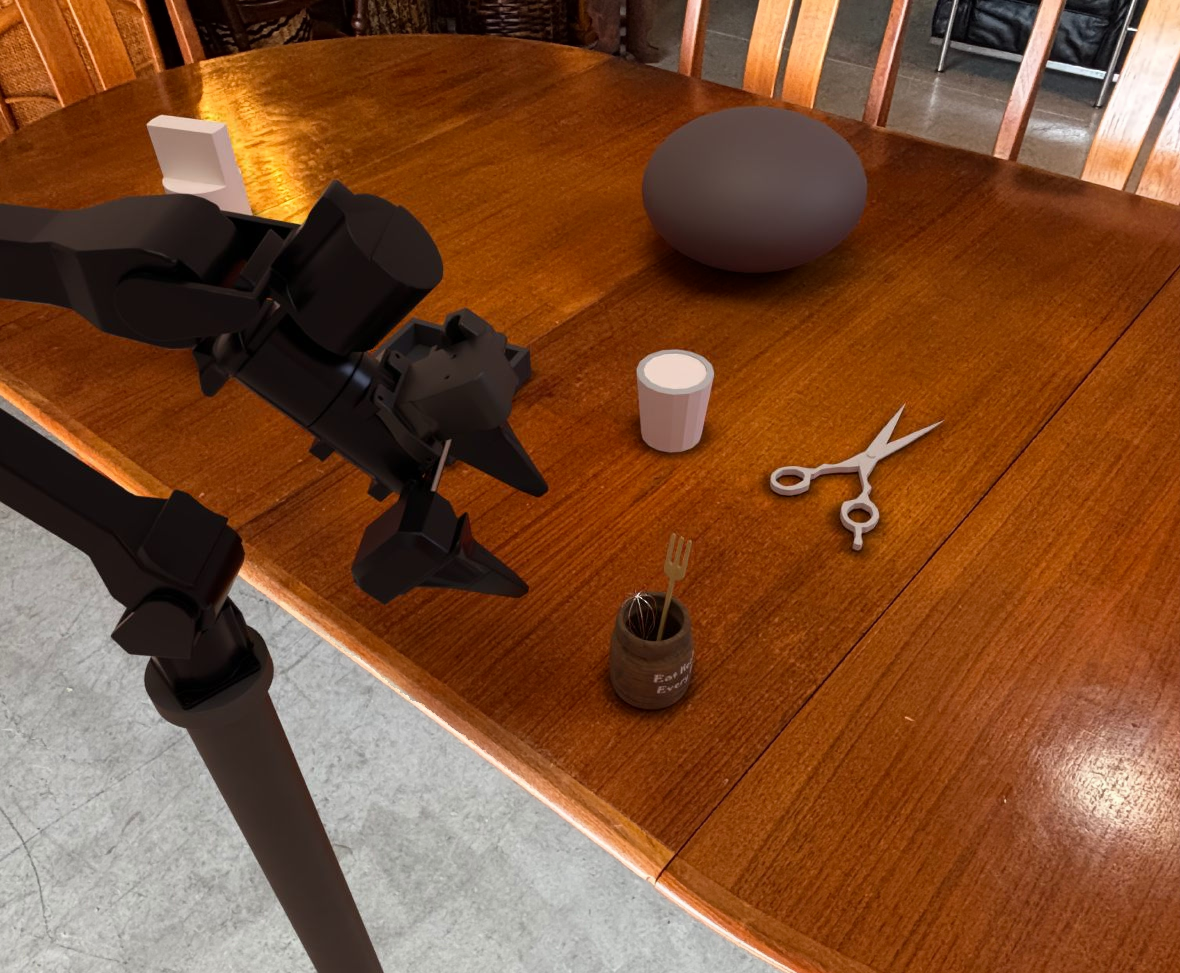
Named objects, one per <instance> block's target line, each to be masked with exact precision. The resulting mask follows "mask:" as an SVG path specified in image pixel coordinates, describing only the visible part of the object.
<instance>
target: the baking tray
mask: <svg viewBox="0 0 1180 973" xmlns="http://www.w3.org/2000/svg"><path fill="white" fill-rule="evenodd" d="M442 326H443V324H439V323H436V322H433V321H432V322H431V321H428V320H423V319H422V318H421V319H420V318H416V317H412V316H411V317H410V319H409V320H408V321H407V322H406V323H405V324H403V325H402V327H401V326H400V328H399V329H398V330H397V331H396V332H394V333H393V334H392V335H391V336H390V337H389V338H388V339H387V340H386V341H384V342H383V343H382V344H381V345H380V346H379V347H378V348H377V349H376V350H375V351H374V352H372V353H371V355H372V356H374V357H375V358H376V357H377V356H378V355H379V354H380V353H381V352H382V351H383V350H384V349H385V348H386V347H387V348H388V349H389V350H391V351H393V350H396V351H398V352H400V353H401V354H402V355H403V356H405V357H406V358H407V359H409V360H411V361H412V362H414V363H415V362H417V361H419V360H422V359H424V358H426V357H428V356H429V354H430V351H431V348H432V347H434V346H436V345H438V347H439V348H440V350H441V349H442V346H441V336H440V332H441V329H442ZM504 355H505V356H506V358H507V360H508V361H509V363H510V365H511V366H512V368H513V370H514V371H515V373H516V375H517V376H518V378H519V384H518V387H515V390H514V394H513V396H514V395H515V394H516V393H517V392H518V391H519V389H520V388H521V387H522V386H524V384H525V383H526V381H528V379H529V378H530V377H531V376H532V363H531V349H530V348H528V347H523V346H519V345H515V344H512V343H509V342H507V346H506V349H505V353H504ZM456 460H457V459H456V458H454V457H452V456H450V455H448V457H447V460H446V463H445V466H446V465H447V466H451V465H452V464H453V463H454V462H456Z"/></svg>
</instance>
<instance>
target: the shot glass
mask: <svg viewBox="0 0 1180 973" xmlns="http://www.w3.org/2000/svg"><path fill="white" fill-rule="evenodd" d="M714 376H715V371H714V367H713V365H712V363H710V361H708V360H707V359H706V358H705V357H704V356H703V355H700V354H697V353H695V352H693V351H689V350H683V349H676V348H675V349H663V350H659V351H655V352H653V353H649V354H648V355H647V356H645V357H644V358H643V359H642V360H640V361H639V363H638V365H637V367H636V381H637V396H638V407H639V408H638V410H639V421H640V432H641V438H642V440H643V441H644V442H645V444H646V445H648V446H649V447H651V448H652V449H655V450H657V451H658V452H665V453H682V452H685V451H687V450H690V449H693V448H694V447H695V446H696V445H698V444H699V442H700V441H701V439H702V438H701V437H702V434H703V430H704V426H705V425H704V424H705V420H706V415H707V411H708V406H709V401H710V396H711V392H712V387H713V382H714Z"/></svg>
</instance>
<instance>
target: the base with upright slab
mask: <svg viewBox="0 0 1180 973" xmlns="http://www.w3.org/2000/svg"><path fill="white" fill-rule="evenodd" d="M146 128H147V131H148V134H149V138H150V140H151V144H152V146H153V149H154V153H155V155H156V159H157V162H158V165H159V168H160V171H161V174H162V176H163V178H162V180H161V182H162V187H163V189H164V192H165V194H178V193H179V194H191V195H195V196H199V197H202V198H205V199H207V200H209V201H211V202H213V203H215V204H216V205H218V206H219V208H220V210H224V211H229V212H235V213H241V214H246V215H252V216H254V215H253V212H252V207H251V204H250V200H249V198H248V197H249V196H248V193H247V189H246V185H245V182H244V181H245V180H244V178H243V175H242V171H241V168H240V167H239V166H238V162H237V159H236V156H235V152H234V148H233V144H232V140H231V137H230V134H229V129H228V126H227V123H226V122H222V121H221V122H219V121H213V120H207V119H206V120H205V119H197V118H189V117H182V116H173V115H166V114H160V115H158V116H155V117H153V118H152V119H150V120H149V121H148V122H147V123H146Z"/></svg>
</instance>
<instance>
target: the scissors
mask: <svg viewBox="0 0 1180 973" xmlns="http://www.w3.org/2000/svg"><path fill="white" fill-rule="evenodd" d="M906 404H907V402H905V403H904V404H903V405H902V407H900V409H899V410H898V411H897V412H896V413H895V414H894V415H893V417H892V418H891V419H890V420H889V421H888V423H887V424H886V425H885V426H884V427H883V428H882V429H881V431H880V432H879V433H878V434H877V436H876V437H875V438H874V440H873V441H872V442H871V444H870V445H869V446H868V448H866V450H865V451H863V452H859V453H858V454H856V455H854V456H852V457H850V458H848V459H846V460H843V461H841V462H839V463H834V464H831V463H823V464H821V465H819V466H817V467H816V468H809V467H804V466H803V467H802V466H798V465H790V466H789V465H788V466H783V467H779V468H777V469H776V470H775V471H773V472H772V473H771V475H770V481H769V486H770V489H771V491H773V492H774V493H776V494H779V495H782V496H794V495H800V494H802V493H804V492H807V491H809V488H810V484H811V480H814V479H815V478H817V477H819V476H820V475H821V476H822V475H826V474H827V475H828V474H835V473H856V472H858V477H859V481H860V486H861V489H862V490H861V491H862V492H861V493H860V495H858V496H857V498H854V499H851V500H847V501H846V500H845V501H844V502H843V503H842V505H841V508H840V511H839V512H840V513H839V518H840V522H841V524H842V526H844V528H845V529H847V530H849V531H850V532H852V533H853V538H854V540H853V544H852V549H853V550H855V551H860V550H861V549H862V548H863V544H864V542H863V539H862V534H866V533H868V532H869V531H872V530H873V529H875V527H876V525H877V524H878V522H879V519H880V513H879V509H878V507H877V506H876V505H875V503H873V502H872V501H871V500H870V497H869V495H870V494H871V491H872V486H871V485H870V483H869V481H868V478H869V476H870V475H871V473H872V472H873V470H874V469H875V466H876V465H877V463H878V461H880V460H882V459H884V458H886V457H887V456H889V455H891V454H893V453H895V452H897V451H898V450H900V449H902V448H904V447H906V446H907V445H909V444H911V443H912V442H914V441H915V440H917V439H918V438H920V437H921V436H923V435H925V434H926V433H928V432H930V431H932V430H933V429H935V428H936V427H938V426H939V425H940V424H941V423H943V422H944V421H945V419H944V420H941V421H939V422H936V423H934V424H932V425H928V426H927V427H924V428H922V429H919V430H917V431H914V432H912V433H910V434H907V435H906V436H904V437H901V438H898V439H896V440H894V441H890V442H889V443H888V441H889V440H890V438H891V436H892V433H893V432H894V429H895V427H896V425H897V424H898V421H899V418H900V416H901V414H902V412H903V411H904V410H903V409H904V408H905V406H906ZM788 475H789V476H790V475H793V476H797V477H799V478H801V479H802V481H800V482H798V483H796V484H794V485H793V484H792V485H788V486H787V485H783V484H782V483H779V482H778V481H777V479H779V478H780V477H782V476H788ZM856 509H857V510H858V509H861V510H864V511H866V512H868V513H869V515H870V517H871V518H870V519H868V520H867V521H866V522H855V521H854V520H852V519H851V518H849V516H848V514H849V513H850V512H851V511H853V510H856Z"/></svg>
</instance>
